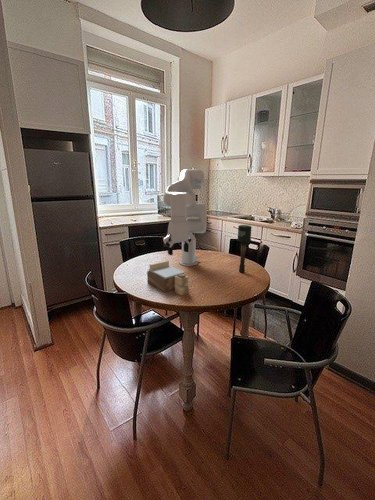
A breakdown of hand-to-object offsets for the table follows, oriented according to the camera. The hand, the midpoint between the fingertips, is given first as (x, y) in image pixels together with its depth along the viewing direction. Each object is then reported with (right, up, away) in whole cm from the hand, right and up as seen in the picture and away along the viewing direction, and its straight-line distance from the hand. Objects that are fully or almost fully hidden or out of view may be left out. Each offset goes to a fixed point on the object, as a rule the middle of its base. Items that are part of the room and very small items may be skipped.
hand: (178, 253), depth 126 cm
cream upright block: (+1, -21, +5) cm, 21 cm away
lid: (-7, -11, +13) cm, 18 cm away
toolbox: (-7, -18, +15) cm, 24 cm away
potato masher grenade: (+39, -13, +35) cm, 54 cm away
